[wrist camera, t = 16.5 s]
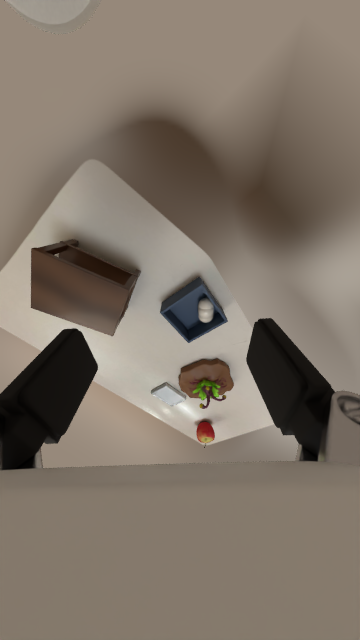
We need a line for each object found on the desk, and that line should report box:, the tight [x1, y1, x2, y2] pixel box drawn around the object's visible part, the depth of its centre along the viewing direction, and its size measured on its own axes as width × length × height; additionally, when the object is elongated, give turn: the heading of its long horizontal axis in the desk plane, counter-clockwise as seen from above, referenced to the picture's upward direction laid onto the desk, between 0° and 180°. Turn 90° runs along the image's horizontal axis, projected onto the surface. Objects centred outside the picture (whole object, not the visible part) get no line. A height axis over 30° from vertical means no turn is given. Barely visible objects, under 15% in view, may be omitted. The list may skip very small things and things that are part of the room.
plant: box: [179, 359, 234, 409], centre depth 58 cm, size 20×20×11 cm
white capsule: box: [198, 298, 214, 323], centre depth 43 cm, size 7×4×4 cm
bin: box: [160, 276, 228, 343], centre depth 43 cm, size 12×12×6 cm
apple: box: [197, 422, 215, 448], centre depth 77 cm, size 8×8×10 cm
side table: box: [31, 239, 141, 336], centre depth 36 cm, size 12×16×12 cm
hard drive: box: [151, 383, 186, 406], centre depth 67 cm, size 2×8×12 cm
